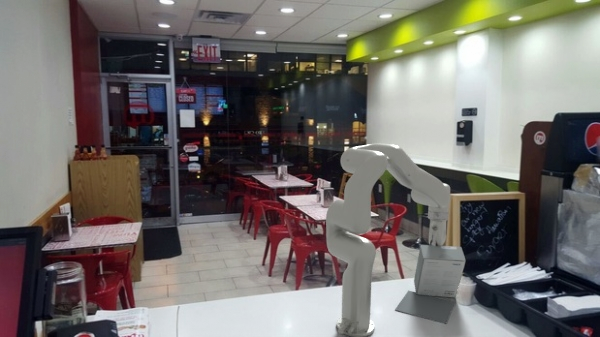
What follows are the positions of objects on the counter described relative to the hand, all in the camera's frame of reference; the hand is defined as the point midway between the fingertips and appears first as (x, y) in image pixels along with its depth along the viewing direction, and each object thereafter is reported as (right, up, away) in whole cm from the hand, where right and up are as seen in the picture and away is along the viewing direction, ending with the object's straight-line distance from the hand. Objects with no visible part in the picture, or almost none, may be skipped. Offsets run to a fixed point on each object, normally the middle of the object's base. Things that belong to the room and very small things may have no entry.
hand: (435, 259), depth 159 cm
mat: (-6, -15, -9) cm, 19 cm away
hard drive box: (0, -12, +2) cm, 12 cm away
